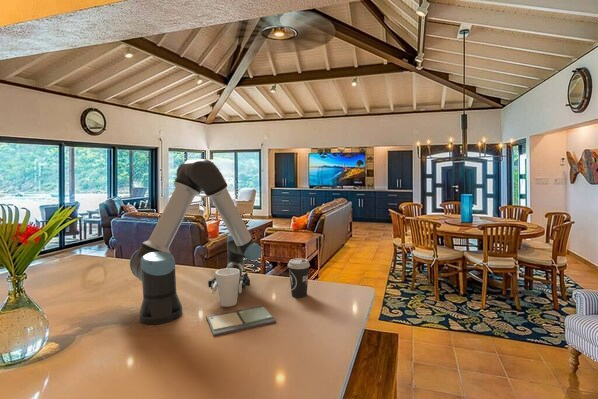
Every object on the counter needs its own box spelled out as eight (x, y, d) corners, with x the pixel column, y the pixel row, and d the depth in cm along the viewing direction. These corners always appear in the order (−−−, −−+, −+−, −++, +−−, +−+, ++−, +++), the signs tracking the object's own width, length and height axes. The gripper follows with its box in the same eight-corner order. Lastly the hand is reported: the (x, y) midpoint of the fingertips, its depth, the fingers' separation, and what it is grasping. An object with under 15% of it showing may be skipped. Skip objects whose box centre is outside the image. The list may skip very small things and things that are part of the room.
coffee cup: (301, 301, 142) (300, 265, 140) (283, 296, 147) (282, 261, 146) (314, 293, 149) (314, 260, 148) (297, 289, 155) (296, 256, 153)
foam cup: (215, 300, 141) (214, 269, 139) (238, 297, 144) (237, 267, 143) (218, 309, 132) (217, 276, 130) (242, 305, 135) (241, 273, 134)
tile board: (213, 336, 114) (213, 332, 114) (206, 318, 127) (206, 315, 127) (276, 322, 123) (276, 319, 123) (263, 307, 136) (262, 304, 136)
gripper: (258, 279, 156) (255, 298, 134) (208, 281, 154) (197, 300, 132) (258, 263, 155) (255, 279, 133) (208, 264, 154) (197, 281, 132)
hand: (226, 290), depth 133 cm, fingers closed on foam cup, 9 cm apart
